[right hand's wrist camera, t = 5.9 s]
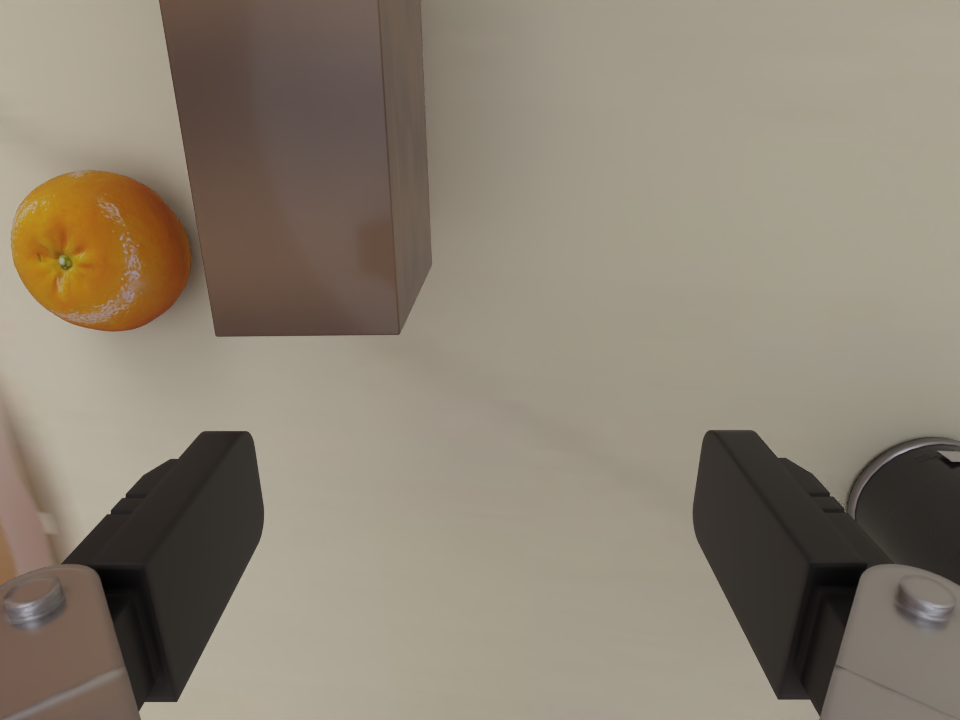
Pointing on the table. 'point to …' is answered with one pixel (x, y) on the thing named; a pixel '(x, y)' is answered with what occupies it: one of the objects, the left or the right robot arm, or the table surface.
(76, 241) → the fruit
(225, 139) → the box
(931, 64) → the table surface
